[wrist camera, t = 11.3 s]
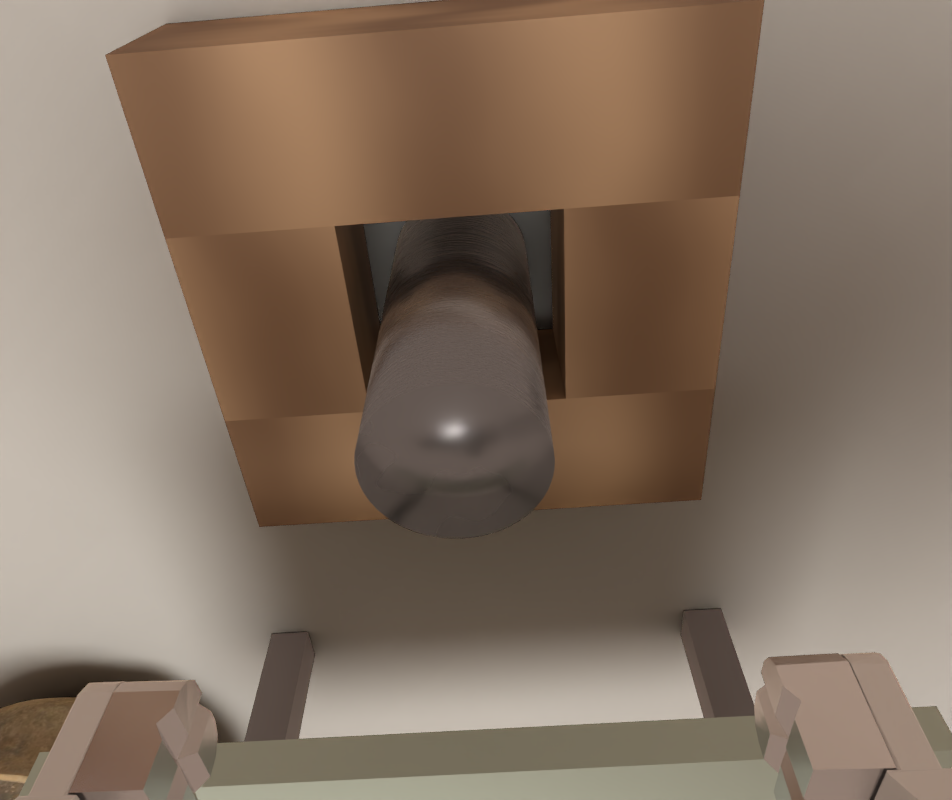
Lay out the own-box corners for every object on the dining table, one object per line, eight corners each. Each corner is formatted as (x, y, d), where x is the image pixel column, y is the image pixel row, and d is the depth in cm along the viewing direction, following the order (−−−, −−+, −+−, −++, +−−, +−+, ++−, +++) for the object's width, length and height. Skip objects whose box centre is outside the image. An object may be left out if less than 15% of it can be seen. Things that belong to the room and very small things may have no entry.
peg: (523, 189, 22) (552, 376, 14) (528, 310, 24) (556, 532, 16) (386, 199, 22) (337, 390, 14) (405, 319, 25) (371, 543, 16)
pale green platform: (762, 395, 26) (961, 749, 16) (721, 635, 34) (837, 987, 23) (195, 431, 27) (18, 796, 16) (276, 659, 35) (191, 1012, 24)
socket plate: (713, -23, 19) (764, -1, 16) (672, 423, 27) (701, 499, 24) (165, 23, 20) (105, 54, 16) (284, 448, 28) (259, 526, 24)
